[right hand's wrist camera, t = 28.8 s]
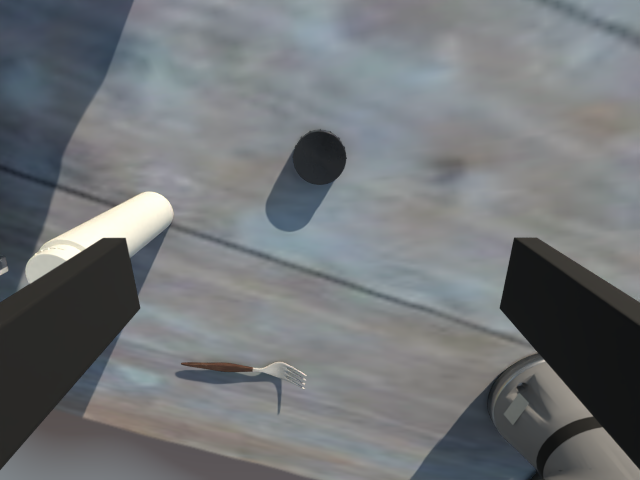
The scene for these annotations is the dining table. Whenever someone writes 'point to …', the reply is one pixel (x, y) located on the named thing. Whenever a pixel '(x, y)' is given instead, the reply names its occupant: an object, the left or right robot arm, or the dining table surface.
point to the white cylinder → (106, 232)
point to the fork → (253, 369)
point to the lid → (319, 157)
